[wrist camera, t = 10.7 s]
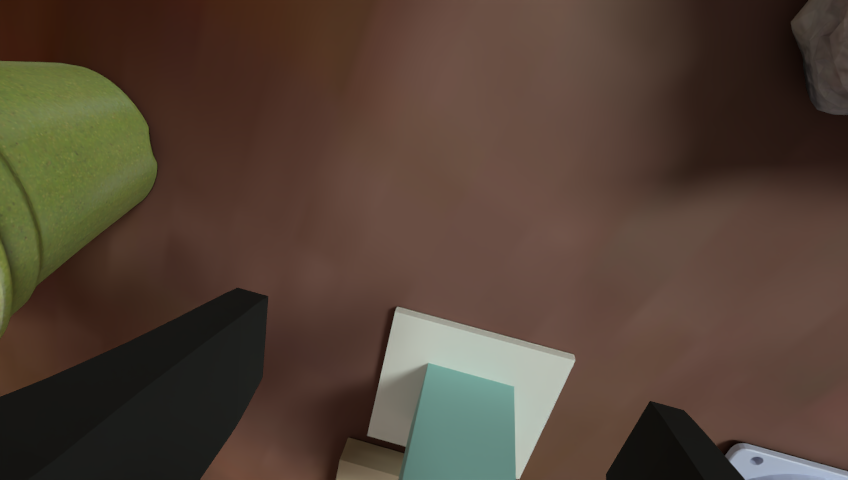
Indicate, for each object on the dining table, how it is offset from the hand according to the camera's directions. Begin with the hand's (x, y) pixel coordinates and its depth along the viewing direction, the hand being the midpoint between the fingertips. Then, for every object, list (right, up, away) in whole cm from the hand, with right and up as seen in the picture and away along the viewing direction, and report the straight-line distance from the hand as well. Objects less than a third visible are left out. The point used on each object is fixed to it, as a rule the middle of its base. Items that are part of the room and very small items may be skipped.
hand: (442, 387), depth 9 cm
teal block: (+1, -5, +13) cm, 14 cm away
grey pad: (+1, -5, +14) cm, 15 cm away
